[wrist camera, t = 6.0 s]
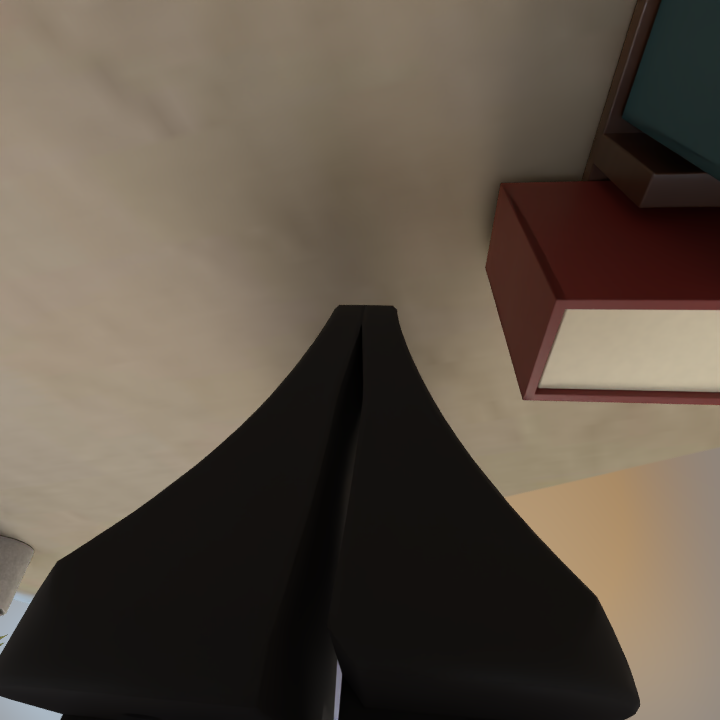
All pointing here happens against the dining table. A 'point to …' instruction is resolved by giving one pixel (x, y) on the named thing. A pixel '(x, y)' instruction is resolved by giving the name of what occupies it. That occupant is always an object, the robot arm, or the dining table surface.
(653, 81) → the teal book
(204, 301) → the dining table surface
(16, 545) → the house plant
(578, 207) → the oxblood book
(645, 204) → the book rack
